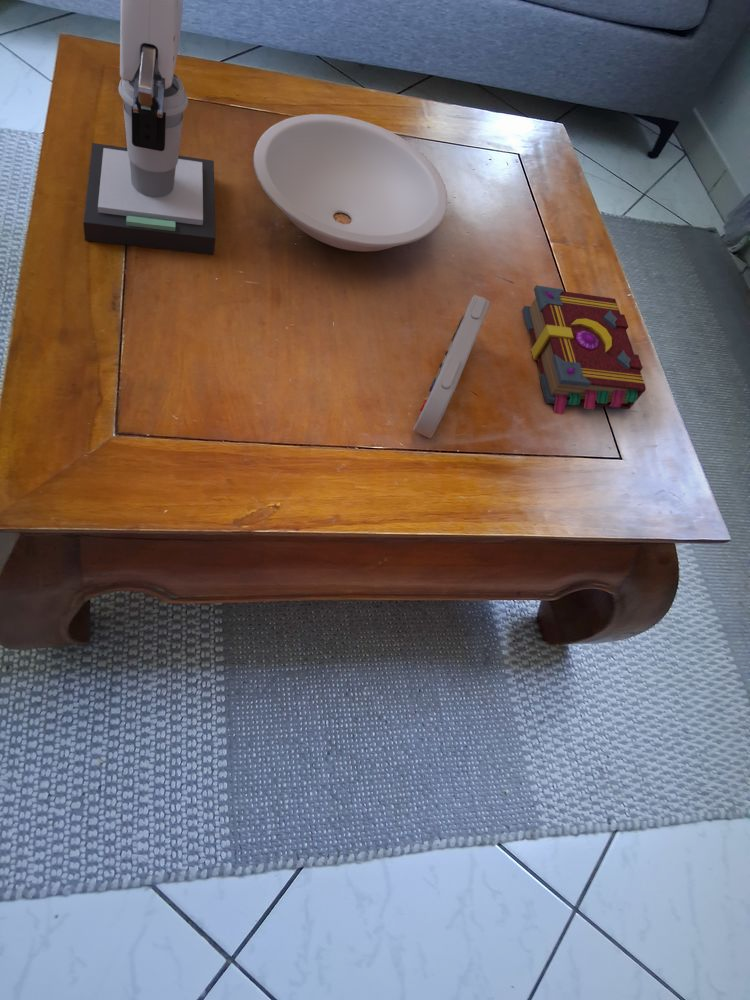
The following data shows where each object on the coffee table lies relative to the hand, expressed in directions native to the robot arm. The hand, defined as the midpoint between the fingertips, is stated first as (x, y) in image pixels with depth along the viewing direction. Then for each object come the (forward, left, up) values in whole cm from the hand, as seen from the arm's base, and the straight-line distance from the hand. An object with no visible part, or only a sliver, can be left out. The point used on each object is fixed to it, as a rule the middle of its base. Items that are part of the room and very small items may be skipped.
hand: (153, 119), depth 81 cm
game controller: (+8, -39, -11) cm, 42 cm away
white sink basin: (+19, -13, -11) cm, 26 cm away
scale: (0, 0, -11) cm, 11 cm away
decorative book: (+25, -48, -11) cm, 55 cm away
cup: (0, 0, -8) cm, 8 cm away
